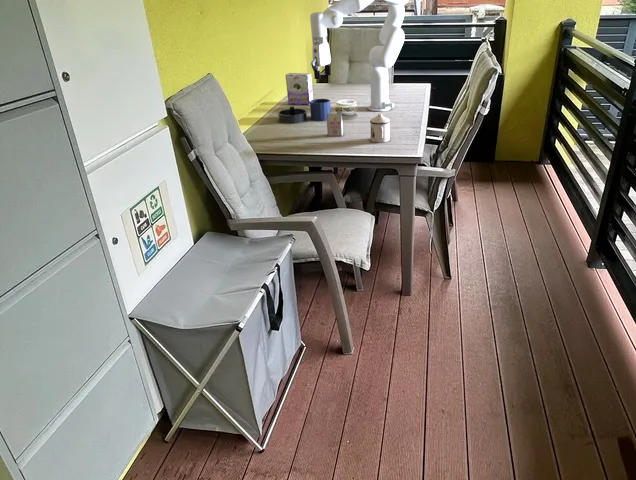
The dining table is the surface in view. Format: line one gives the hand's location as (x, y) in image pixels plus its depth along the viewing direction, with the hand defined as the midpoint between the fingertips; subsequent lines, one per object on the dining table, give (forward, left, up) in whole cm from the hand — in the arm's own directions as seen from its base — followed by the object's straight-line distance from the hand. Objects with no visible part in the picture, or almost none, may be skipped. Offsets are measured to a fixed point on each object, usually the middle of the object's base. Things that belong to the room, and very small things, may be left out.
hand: (322, 77), depth 274 cm
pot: (-1, +5, -20) cm, 20 cm away
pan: (+11, +13, -20) cm, 26 cm away
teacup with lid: (-49, +27, -20) cm, 59 cm away
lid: (+11, +13, -19) cm, 26 cm away
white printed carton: (-25, +28, -20) cm, 42 cm away
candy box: (+29, -18, -20) cm, 40 cm away
